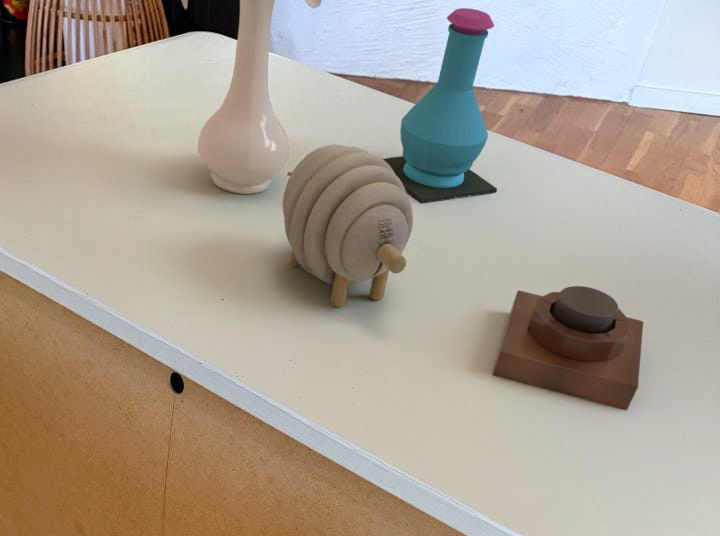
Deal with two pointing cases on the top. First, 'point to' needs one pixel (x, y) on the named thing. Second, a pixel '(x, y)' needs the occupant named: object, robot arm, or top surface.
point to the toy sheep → (347, 219)
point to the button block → (570, 353)
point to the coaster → (428, 193)
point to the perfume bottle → (449, 109)
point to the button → (585, 310)
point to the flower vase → (247, 112)
